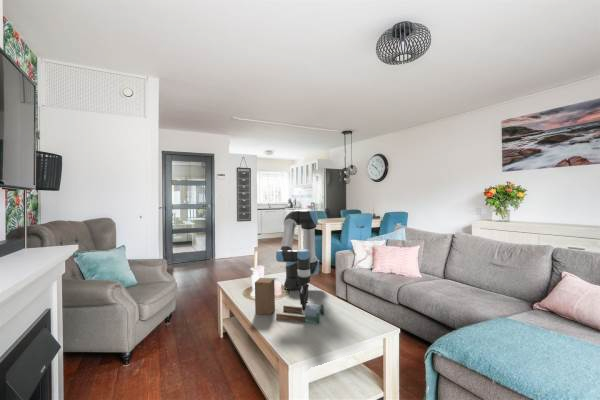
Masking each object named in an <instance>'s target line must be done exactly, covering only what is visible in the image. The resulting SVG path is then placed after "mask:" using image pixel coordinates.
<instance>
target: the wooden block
mask: <svg viewBox="0 0 600 400" xmlns="http://www.w3.org/2000/svg"><path fill="white" fill-rule="evenodd" d="M275 290H276V289H275V278H273V277H271V278H270V277H269V278H268V277H259V278H258V279H257V280H256V281H255V282H254V306H255V307H254V309H255V311H254V313H255V315H268V316H269V315H272V313H273V312H274V311H275V309H276V308H275V307H276V305H275V304H276V300H275V299H276V297H275V294H276V292H275Z"/></svg>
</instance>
